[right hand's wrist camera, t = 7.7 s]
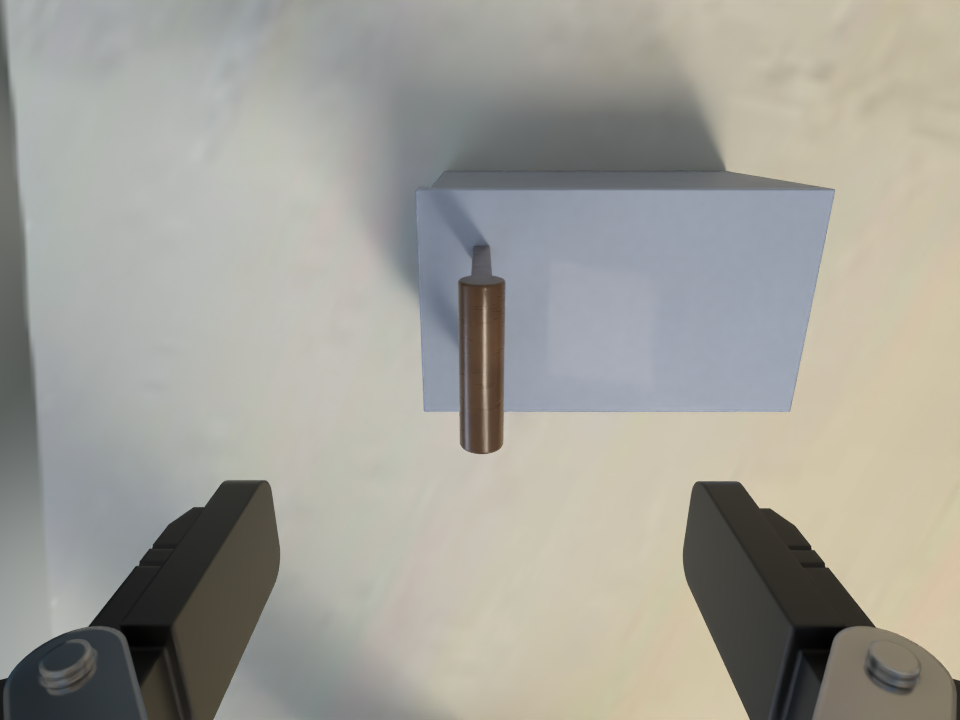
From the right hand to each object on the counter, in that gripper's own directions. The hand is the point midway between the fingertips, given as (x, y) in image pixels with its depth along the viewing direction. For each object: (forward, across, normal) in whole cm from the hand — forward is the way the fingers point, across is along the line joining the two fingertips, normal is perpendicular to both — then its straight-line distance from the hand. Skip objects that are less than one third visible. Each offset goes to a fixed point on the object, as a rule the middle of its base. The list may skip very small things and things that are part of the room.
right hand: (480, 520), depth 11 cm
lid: (+16, -6, 0) cm, 17 cm away
